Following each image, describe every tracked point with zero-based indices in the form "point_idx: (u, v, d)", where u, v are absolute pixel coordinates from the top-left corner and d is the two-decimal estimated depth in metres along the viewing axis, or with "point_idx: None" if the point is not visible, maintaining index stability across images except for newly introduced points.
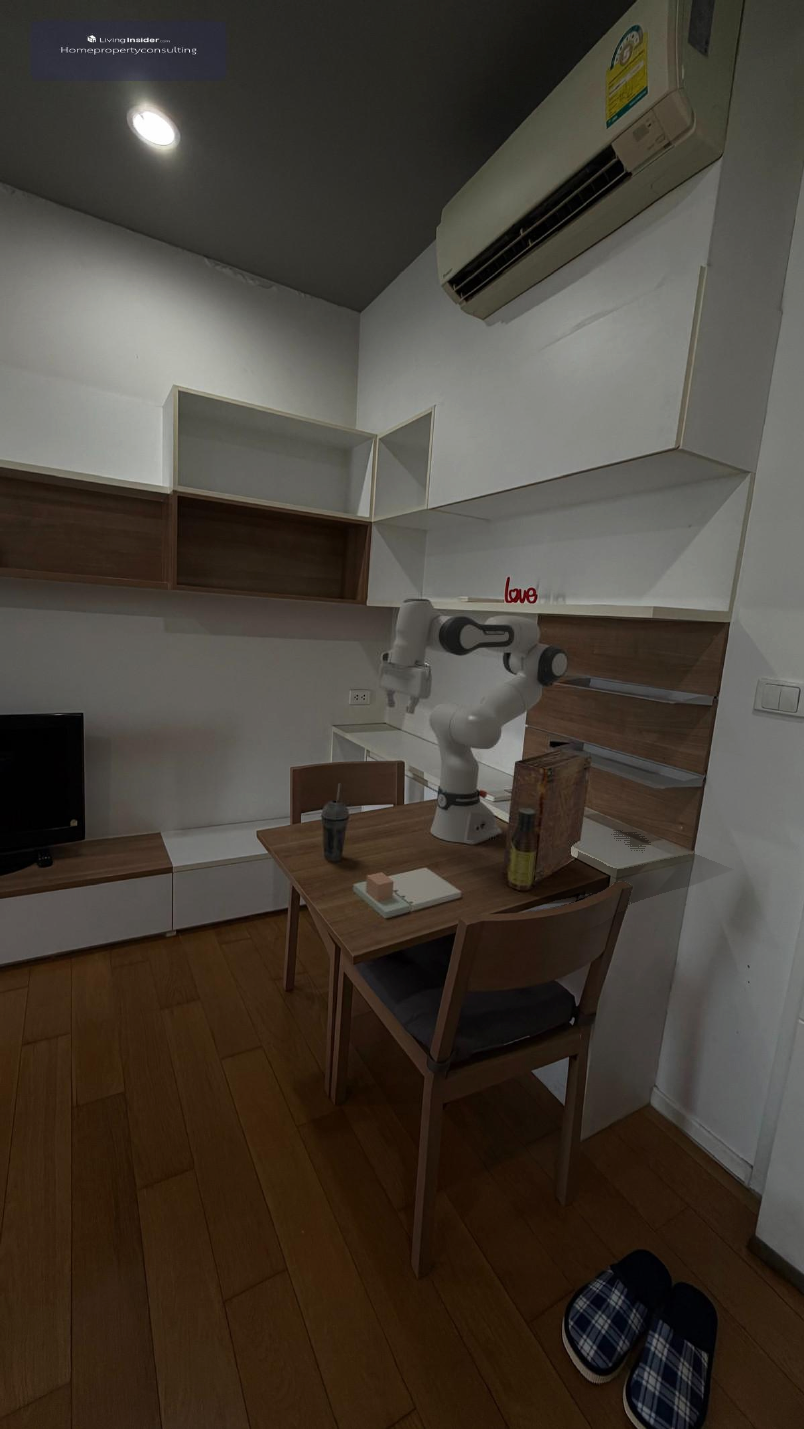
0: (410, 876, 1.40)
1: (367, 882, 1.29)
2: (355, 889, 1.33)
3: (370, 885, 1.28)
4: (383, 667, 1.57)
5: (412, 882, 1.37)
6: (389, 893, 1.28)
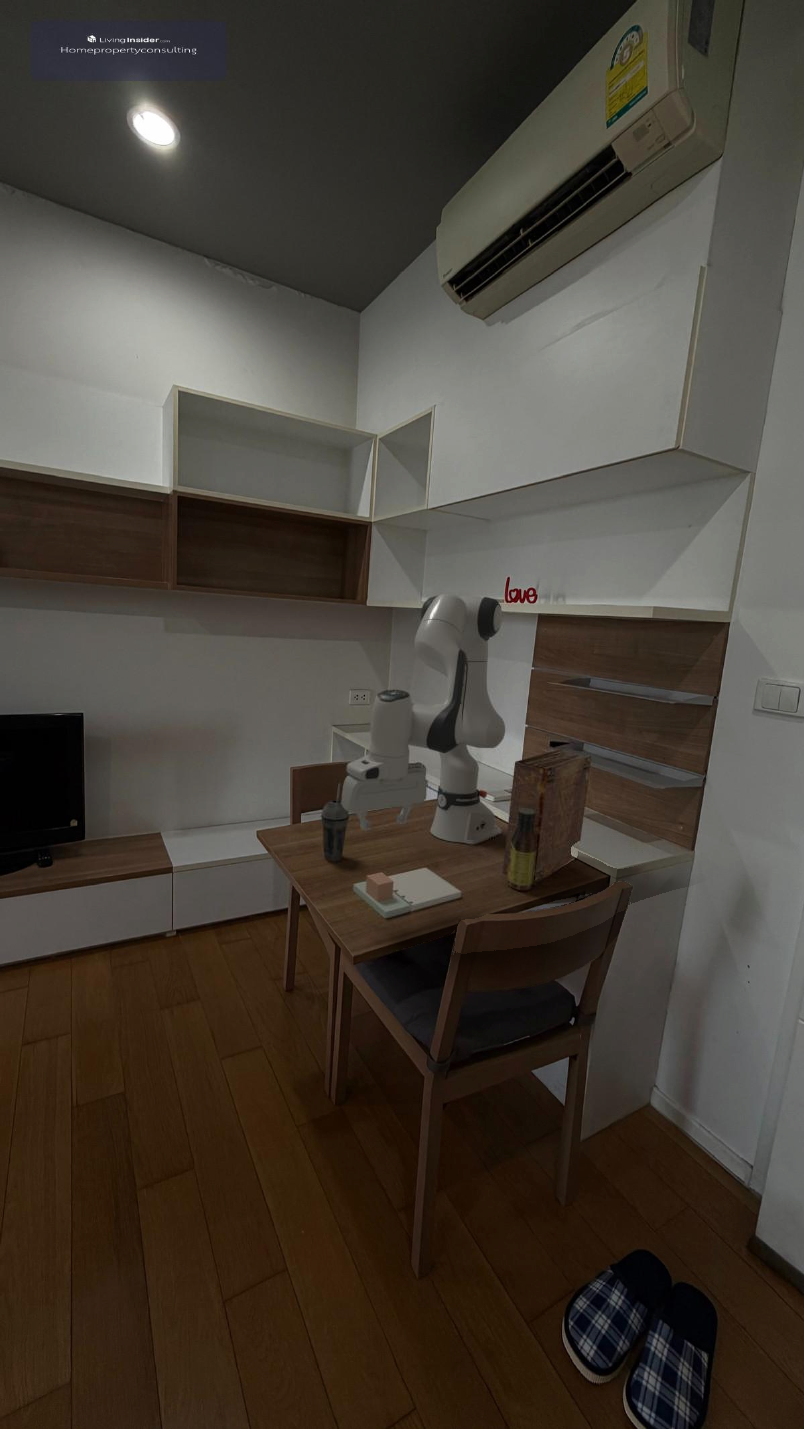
0: (410, 876, 1.40)
1: (367, 882, 1.29)
2: (355, 889, 1.33)
3: (370, 885, 1.28)
4: (361, 787, 1.19)
5: (412, 882, 1.37)
6: (389, 893, 1.28)
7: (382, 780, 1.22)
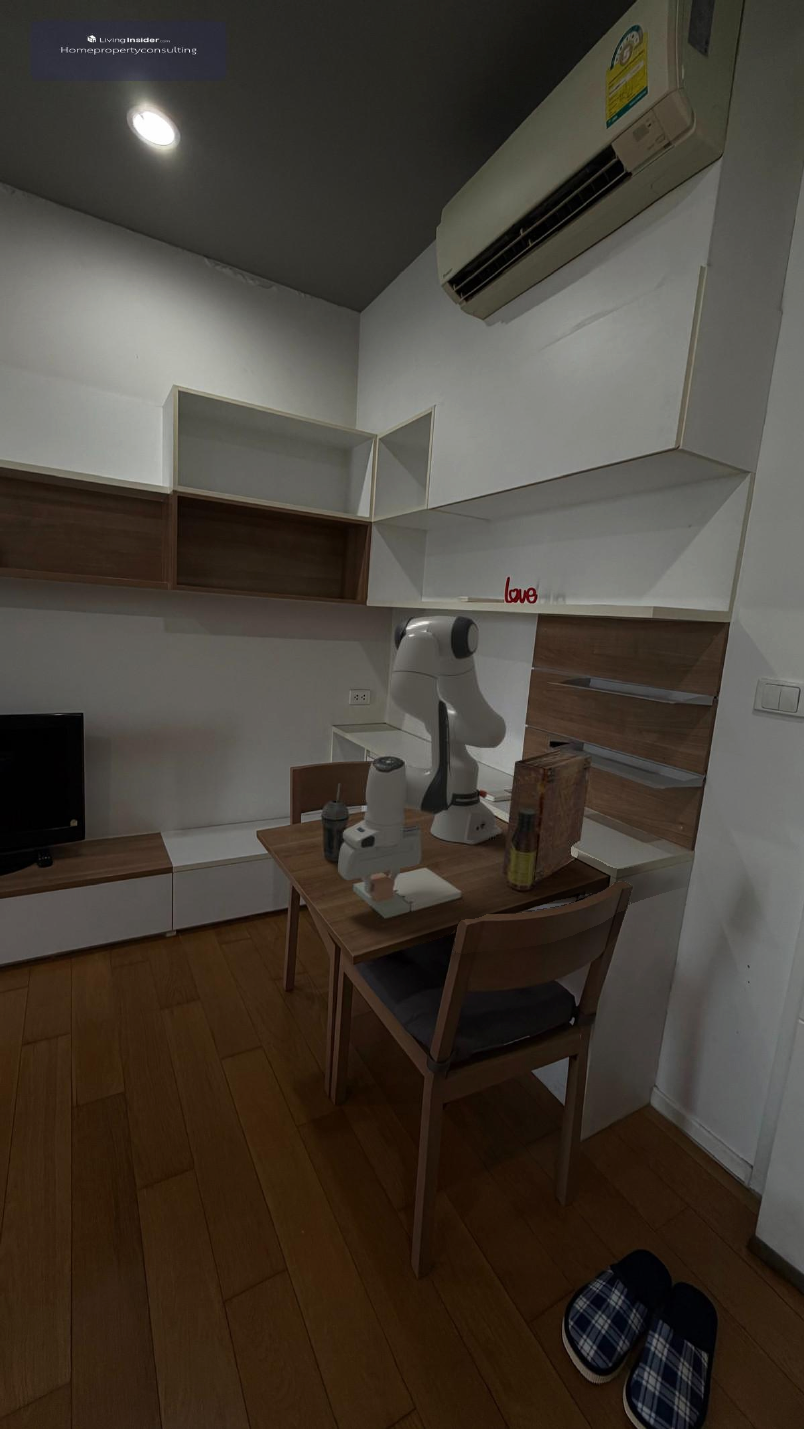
0: (410, 876, 1.40)
1: None
2: (355, 889, 1.33)
3: None
4: (357, 855, 1.21)
5: (412, 882, 1.37)
6: (389, 893, 1.28)
7: (377, 846, 1.24)
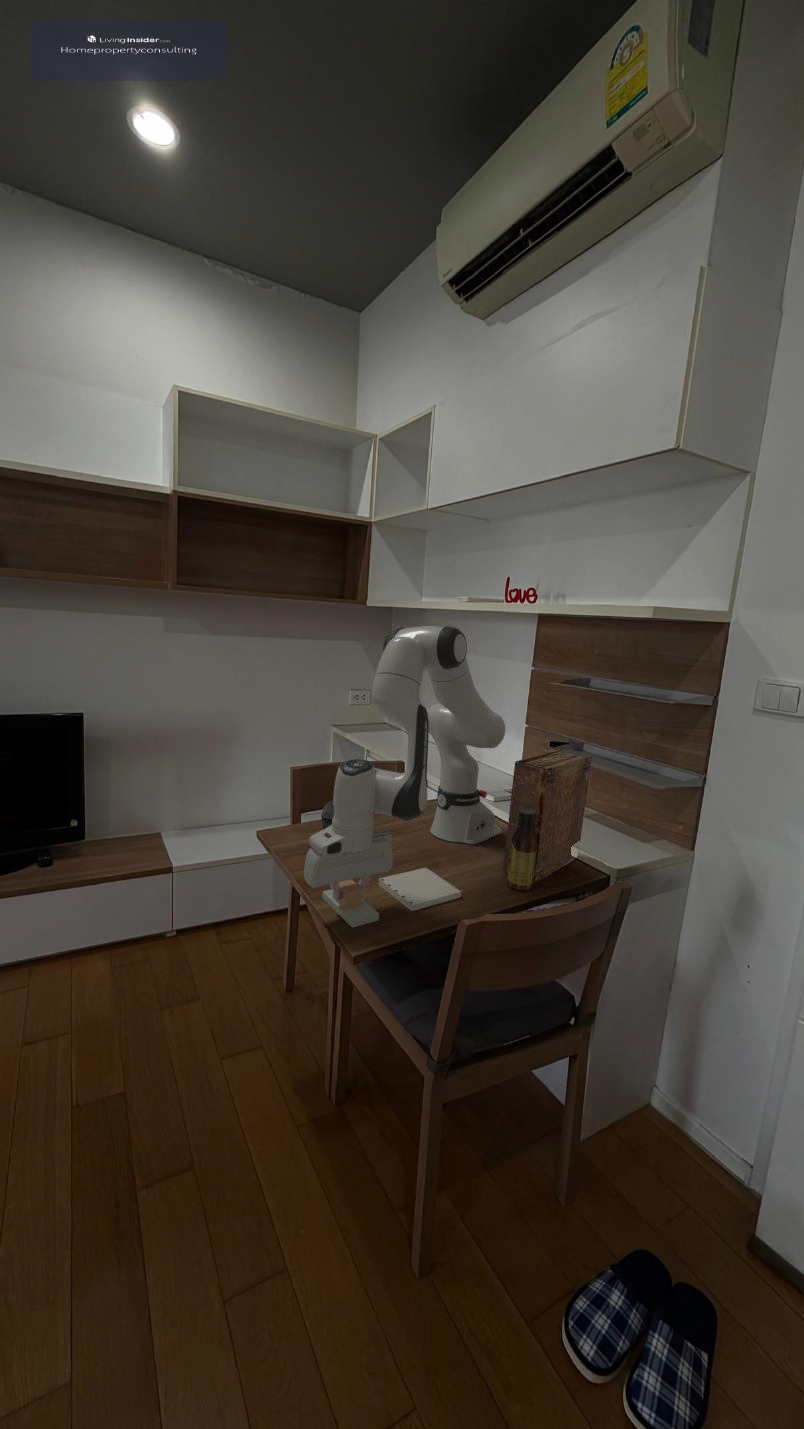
0: (410, 876, 1.40)
1: None
2: (324, 896, 1.28)
3: None
4: (323, 861, 1.17)
5: (412, 882, 1.37)
6: (358, 901, 1.23)
7: (345, 853, 1.20)
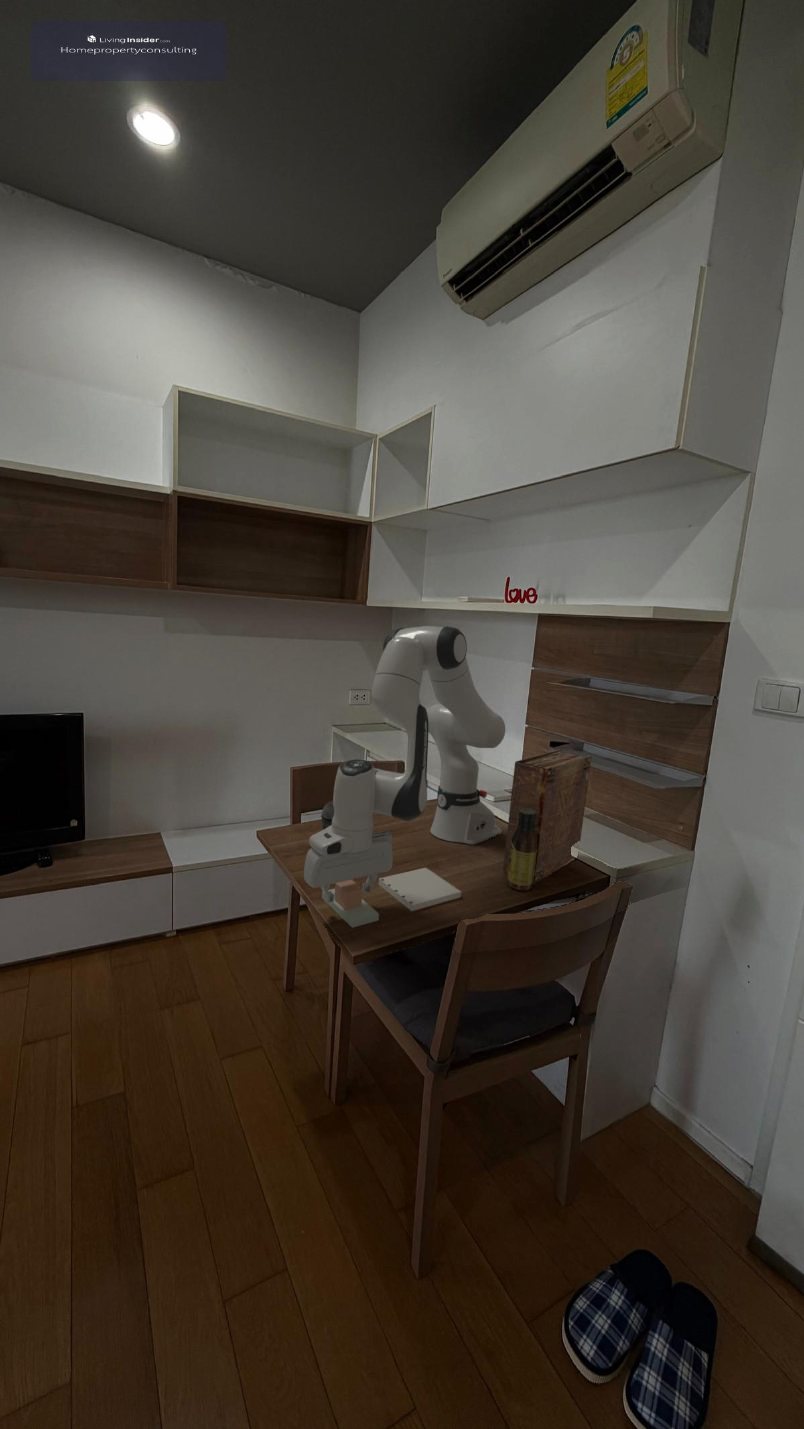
0: (410, 876, 1.40)
1: (335, 889, 1.25)
2: (323, 896, 1.28)
3: (338, 893, 1.24)
4: (323, 862, 1.17)
5: (412, 882, 1.37)
6: (358, 901, 1.23)
7: (345, 853, 1.20)
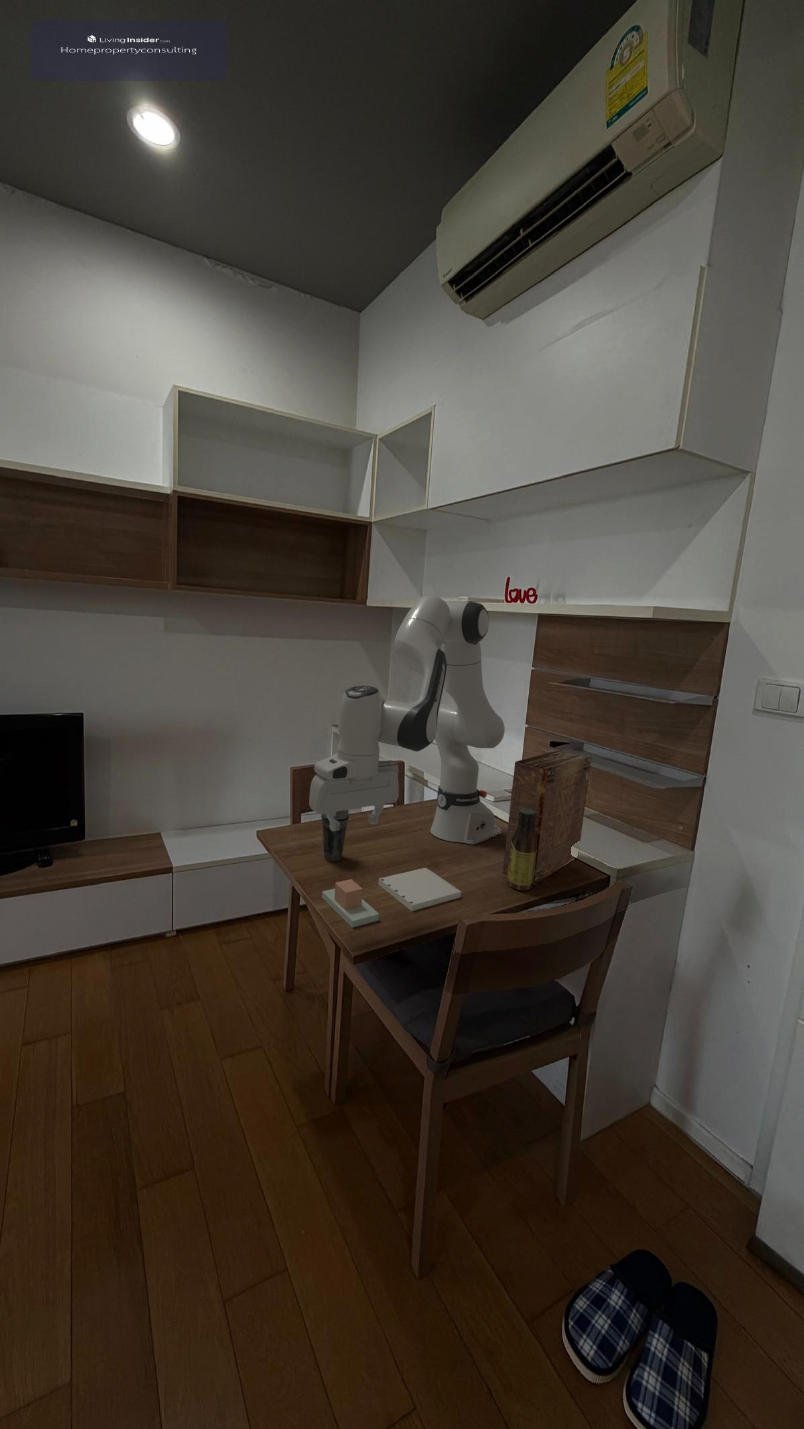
0: (410, 876, 1.40)
1: (335, 889, 1.25)
2: (323, 896, 1.28)
3: (338, 893, 1.24)
4: (328, 787, 1.15)
5: (412, 882, 1.37)
6: (358, 901, 1.23)
7: (351, 779, 1.18)
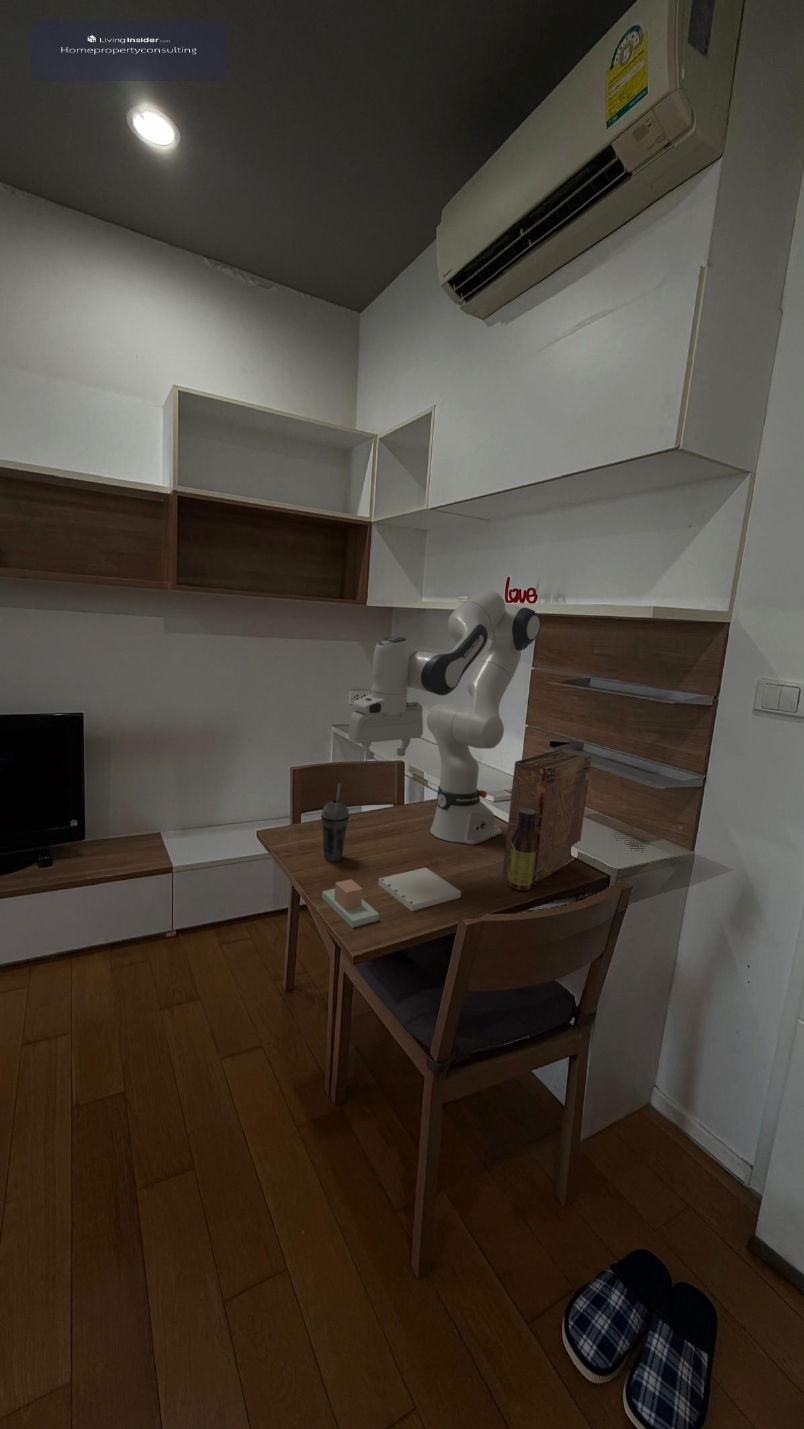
0: (410, 876, 1.40)
1: (335, 889, 1.25)
2: (323, 896, 1.28)
3: (338, 893, 1.24)
4: (365, 720, 1.36)
5: (412, 882, 1.37)
6: (358, 901, 1.23)
7: (384, 715, 1.39)
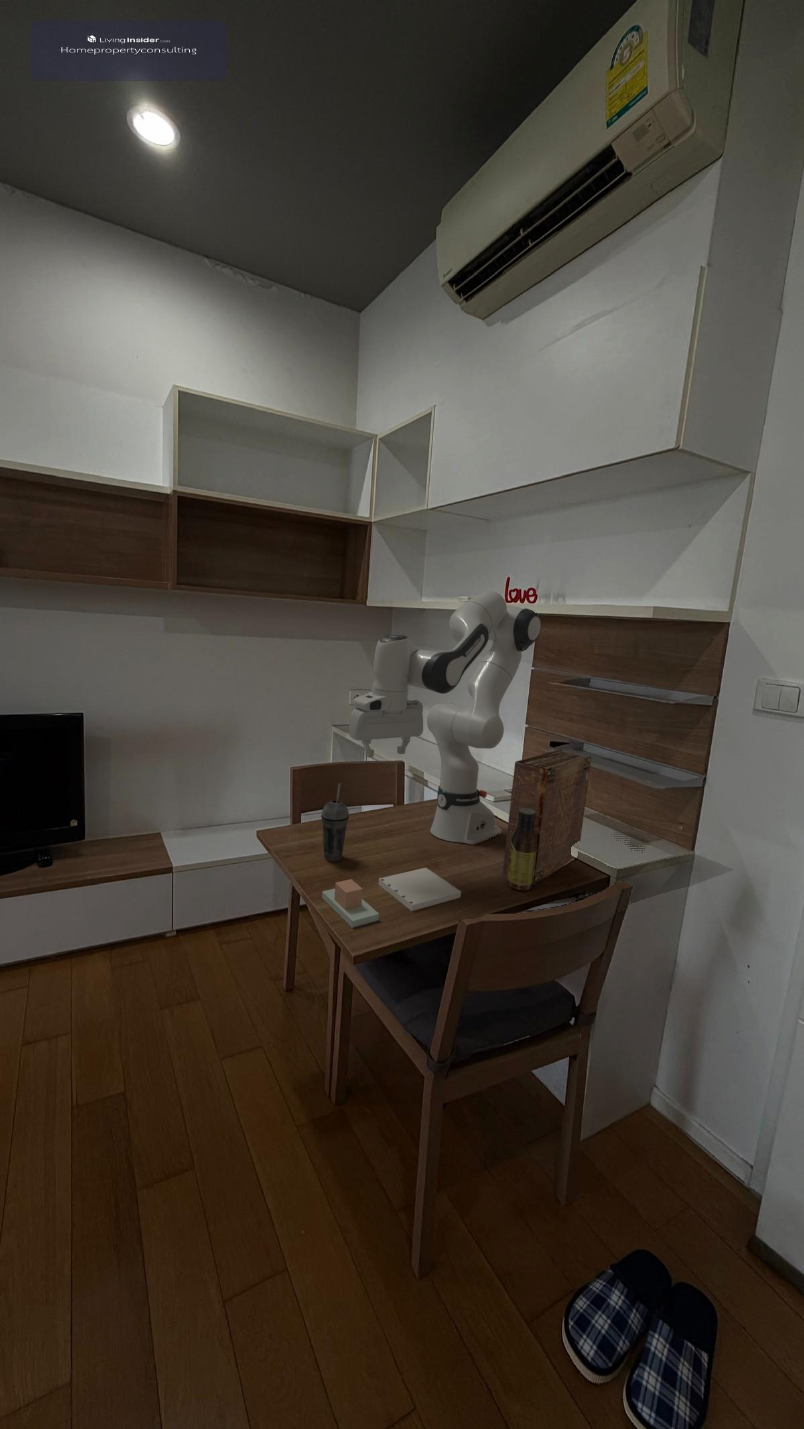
0: (410, 876, 1.40)
1: (335, 889, 1.25)
2: (323, 896, 1.28)
3: (338, 893, 1.24)
4: (366, 717, 1.36)
5: (412, 882, 1.37)
6: (358, 901, 1.23)
7: (384, 712, 1.39)
